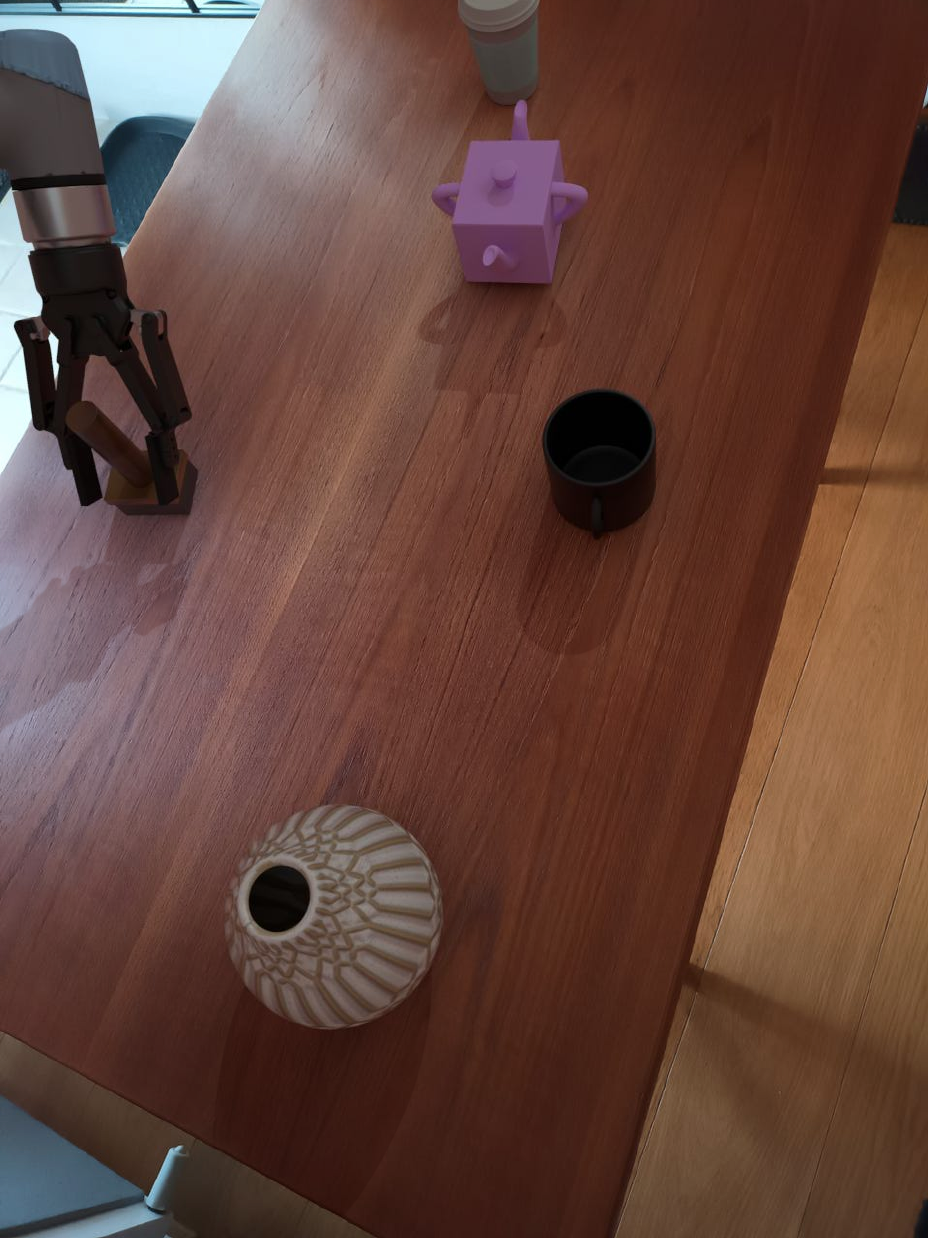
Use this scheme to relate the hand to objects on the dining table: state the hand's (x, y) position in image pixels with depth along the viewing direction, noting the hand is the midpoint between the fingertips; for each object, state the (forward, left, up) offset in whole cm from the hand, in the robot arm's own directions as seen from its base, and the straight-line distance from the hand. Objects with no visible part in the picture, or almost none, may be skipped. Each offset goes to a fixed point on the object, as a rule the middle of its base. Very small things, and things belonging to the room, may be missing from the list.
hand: (130, 501), depth 91 cm
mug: (+41, +17, -5) cm, 45 cm away
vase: (+37, -25, -5) cm, 45 cm away
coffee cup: (+12, +62, -5) cm, 63 cm away
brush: (-1, +3, -5) cm, 6 cm away
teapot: (+22, +41, -5) cm, 47 cm away
